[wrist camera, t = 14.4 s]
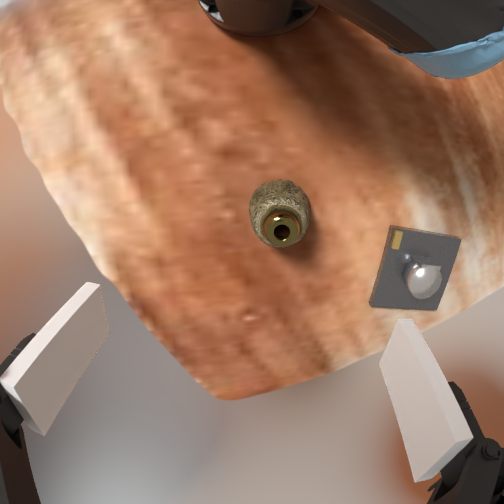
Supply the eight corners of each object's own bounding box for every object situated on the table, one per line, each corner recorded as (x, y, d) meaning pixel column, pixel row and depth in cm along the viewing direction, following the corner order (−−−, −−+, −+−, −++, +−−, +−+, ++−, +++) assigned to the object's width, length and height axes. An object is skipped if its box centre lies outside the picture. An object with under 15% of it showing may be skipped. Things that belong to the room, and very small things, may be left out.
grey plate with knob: (390, 225, 37) (401, 235, 34) (458, 236, 37) (471, 247, 33) (368, 302, 42) (376, 318, 38) (433, 306, 42) (444, 320, 38)
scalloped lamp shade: (233, 210, 30) (240, 190, 37) (258, 273, 32) (260, 243, 40) (307, 187, 28) (299, 171, 35) (326, 254, 31) (316, 226, 38)
